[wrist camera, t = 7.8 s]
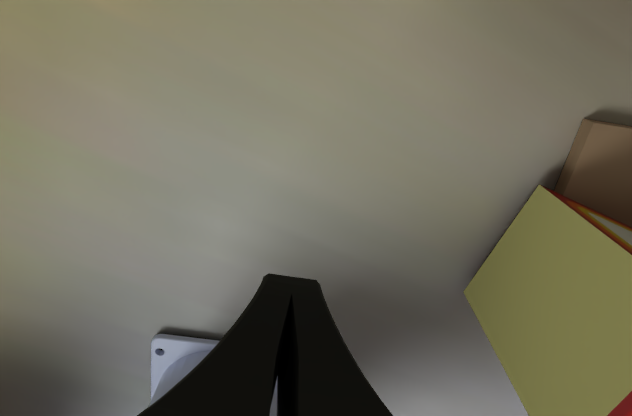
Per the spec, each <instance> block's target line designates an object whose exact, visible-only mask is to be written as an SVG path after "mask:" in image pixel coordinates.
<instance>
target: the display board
mask: <svg viewBox="0 0 632 416" xmlns="http://www.w3.org/2000/svg"><path fill="white" fill-rule="evenodd" d="M554 191H555V192H557V193H559V194H561V195H563V196H565V197H568V198H570V199H572V200H574V201H576V202H578V203H580V204H583V205H585V206H587V207H589V208H591V209H593V210H595V211H598V212H600V213H602V214H604V215H606V216H608V217H611V218H613V219H615V220H617V221H619V222H621V223H623V224H626V225H628V226H630V227H632V126H626V125H620V124H614V123H608V122H602V121H596V120H589V119H583V121H582V123H581V126H580V128H579V130H578V133H577V135H576V138H575V140H574V143H573V145H572V148H571V150H570V152H569V155H568V157H567V160H566V162H565V165H564V167H563V170H562V172H561V174H560V177H559V179H558V182H557V184H556V187H555V189H554Z"/></svg>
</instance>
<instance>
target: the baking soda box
mask: <svg viewBox="0 0 632 416" xmlns="http://www.w3.org/2000/svg"><path fill="white" fill-rule="evenodd" d="M464 294H465V296H466V298H467V300H468V302H469V304H470V306H471V308H472V309H473V311H474V313H475V315H476V317H477V319H478V321H479V323H480V325H481V326H482V328H483V330H484V332H485V334H486V336H487V338H488V340H489V341H490V343H491V345H492V347H493V349H494V351H495V353H496V355H497V357H498V358H499V360H500V362H501V364H502V366H503V368H504V370H505V372H506V373H507V375H508V377H509V379H510V381H511V383H512V385H513V387H514V389H515V390H516V392H517V394H518V396H519V398H520V400H521V402H522V404H523V405H524V407H525V409H526V411H527V413H528V415H529V416H632V227H630V226H628V225H626V224H623V223H621V222H619V221H617V220H615V219H613V218H611V217H608V216H606V215H604V214H602V213H600V212H598V211H595V210H593V209H591V208H589V207H587V206H585V205H583V204H580V203H578V202H576V201H574V200H572V199H570V198H568V197H565V196H563V195H561V194H559V193H557V192H555V191H553V190H550V189H548V188H546V187H544V186H542V185H540V184H539V185H538V187H537V188H536V190H535V191H534V192H533V194H532V195H531V197H530V198H529V199H528V201H527V202H526V204H525V205H524V207H523V208H522V209H521V211H520V212H519V214H518V215H517V217H516V218H515V219H514V221H513V222H512V224H511V225H510V226H509V228H508V229H507V231H506V232H505V234H504V235H503V236H502V238H501V239H500V241H499V242H498V243H497V245H496V246H495V248H494V249H493V251H492V252H491V253H490V255H489V256H488V258H487V259H486V260H485V262H484V263H483V265H482V266H481V268H480V269H479V270H478V272H477V273H476V275H475V276H474V277H473V279H472V280H471V282H470V283H469V285H468V286H467V287H466V289H465V290H464Z"/></svg>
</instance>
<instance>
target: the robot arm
mask: <svg viewBox="0 0 632 416" xmlns="http://www.w3.org/2000/svg"><path fill="white" fill-rule="evenodd" d="M159 348H160V349H163V350H164V351H161V350H159ZM137 416H393V415H392V414H391V412H390V411H389V410H388V409H387V407H386V406H385V405H384V403H383V402H382V401H381V399H380V398H379V397H378V395H377V394H376V392H375V391H374V390H373V388H372V387H371V385H370V384H369V382H368V381H367V379H366V378H365V376H364V375H363V373H362V372H361V370H360V368H359V367H358V365H357V363H356V362H355V360H354V358H353V357H352V355H351V353H350V352H349V350H348V348H347V346H346V344H345V342H344V341H343V339H342V337H341V335H340V333H339V331H338V329H337V327H336V325H335V322H334V320H333V318H332V316H331V314H330V311H329V309H328V307H327V304H326V302H325V299H324V296H323V293H322V290H321V287H320V284H319V283H318V282H317V280H311V279H304V278H297V277H290V276H283V275H276V274H267V275H266V276H264V277H263V280H262V283H261V285H260V287H259V289H258V290H257V292H256V294H255V295H254V297H253V299H252V300H251V302H250V303H249V305H248V306H247V307H246V309H245V310H244V312H243V313H242V314H241V316H240V317H239V318H238V320H237V321H236V322H235V324H234V325H233V326H232V327H231V329H230V330H229V331H228V332H227V333H226V334H225V336H224V337H223V338H222V339H221V340H220V341H217V340H209V339H201V338H193V337H184V336H176V335H168V334H157V335H155V336H154V337H153V339H152V342H151V402H150V405H149V407H148V408H147V409H145V410H144V411H143V412H141V413H140V414H139V415H137Z"/></svg>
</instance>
